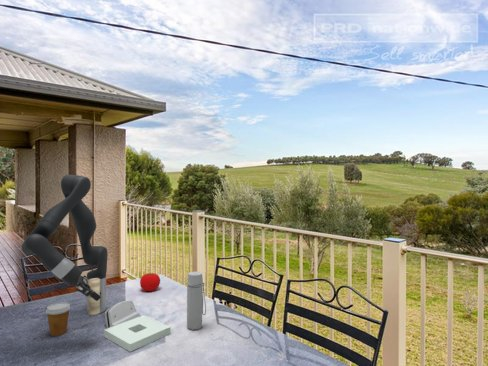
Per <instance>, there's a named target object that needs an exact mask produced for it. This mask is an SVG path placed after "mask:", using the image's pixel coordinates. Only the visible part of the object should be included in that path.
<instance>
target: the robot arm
mask: <svg viewBox="0 0 488 366" xmlns="http://www.w3.org/2000/svg"><path fill="white" fill-rule="evenodd" d="M91 182H92V181H91V180H90V178H88V176H84V175H76V174H65V175H64V176H63V177H62V178H61V181H60V189H61V192H62V194H63V196H64V199H62V201H60V202H58V203H57V204H55V205H53V206H52V207H50V208H49V209H48V210H47V211H46V212H45V213H44V214H43V216H42V217H41V219H40V220H39V221H38V222H37V224H36V227H34V229H33V230H32V231H31V233H30V234H28V236H27V237H26V238H25V239H24V241H23V242H22V244H21V250H22V252H23V253H24V254H25V255H27V256H34V255H35V256H36V257H38V258H39V259H40V263H41V264H42V266H43V267H45V268H46V269H48V270H49V271H50V272H51V273H52V274H53V275H54V276H55V277H56V278H57V279H59V280H61V281H62V282H63V283H64V284H66V285H67V286H71V285H72V284H73V285H75V287H76V291H78V292H80V293H81V294H83V295H84V296H86V313H87V314H88V296H91V297H92V298H93V299H94V300H96V301H98V300H99V299H100V313H99V314H101V313H103V312H104V313H105V312H106V311H107V272H108V257H109V256H108V249H107V247H106V246H93V245H92V244H91V241H92V237H93V236H94V234H95V232H96V229H97V222H96V219H95V215H94V212H93V211H92V210H91V209H90V208H89V206H88V205H86V204H85V202H84V201H83V199H84V198H85V197H86V196H87V195H88V193H89V191H90V190H91V186H92V183H91ZM69 213H70V214H71V217H72V221H73V224H74V227H75V230H76V233H77V237H78V241H79V243H80V249H81V255H82V260H83V262H84V263H85V265H89V266H92V265H94V266H97V267H96V269H92V270H90V271H88V272H87V273H86V275H85V274H84V275H82V274H83V273H84V271H83V269H82V268H80V267H79V266H78V265H77V264H75V263H74V262H73V261H71V259H69V258H67V257H66V256H64V255H63V253H61V252H59V251H58V250H57V249H56V248H55V246H54V245H53V244H52V243H51V242H50V240H49V238H50V237H51V236H52V235H53V234H54V233H55V232H56V231H57V228H58V227H60V226H61V225H60V224H61V223H62V222H63V220H64V219H65V218H66V217H67V215H68V214H69ZM92 278H99V279H100V295H98V294H97V293H96V292H95V291H94V290H92V289H91V286H90V285H89V284H88V280H89V279H92ZM88 291H89V292H88Z"/></svg>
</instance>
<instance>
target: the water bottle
mask: <svg viewBox="0 0 488 366" xmlns="http://www.w3.org/2000/svg"><path fill="white" fill-rule="evenodd" d="M186 281H187V282H186V285H187V286H186V298H187V299H186V328H187V329H189V330H191V331H195V330H200V329H201V328H202V327H203V316H206V314H207V306H206V305H207V303H206V302H204V301H206V295H205V293H206V292H203V291H205V282H204V281H203V273H202V272H201V271H191V272H188V273H187V279H186ZM204 307H205V308H204ZM204 309H205V310H204Z"/></svg>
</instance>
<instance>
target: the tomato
mask: <svg viewBox="0 0 488 366" xmlns="http://www.w3.org/2000/svg"><path fill="white" fill-rule="evenodd" d="M160 284H161V278H160V276H159V275H158V274H157V273H154V272H153V273H152V272H151V273H150V272H149V273H144V274H143V275H142V276H141V277H140V281H139V286H140V288H141V289H142V290H143V291H144V292H152V291H155V290H157V289H158V288H159V287H160Z"/></svg>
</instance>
